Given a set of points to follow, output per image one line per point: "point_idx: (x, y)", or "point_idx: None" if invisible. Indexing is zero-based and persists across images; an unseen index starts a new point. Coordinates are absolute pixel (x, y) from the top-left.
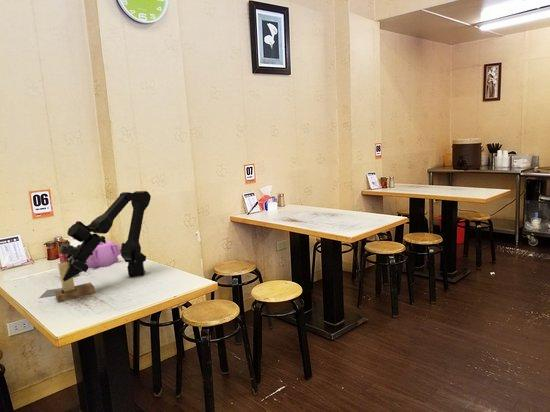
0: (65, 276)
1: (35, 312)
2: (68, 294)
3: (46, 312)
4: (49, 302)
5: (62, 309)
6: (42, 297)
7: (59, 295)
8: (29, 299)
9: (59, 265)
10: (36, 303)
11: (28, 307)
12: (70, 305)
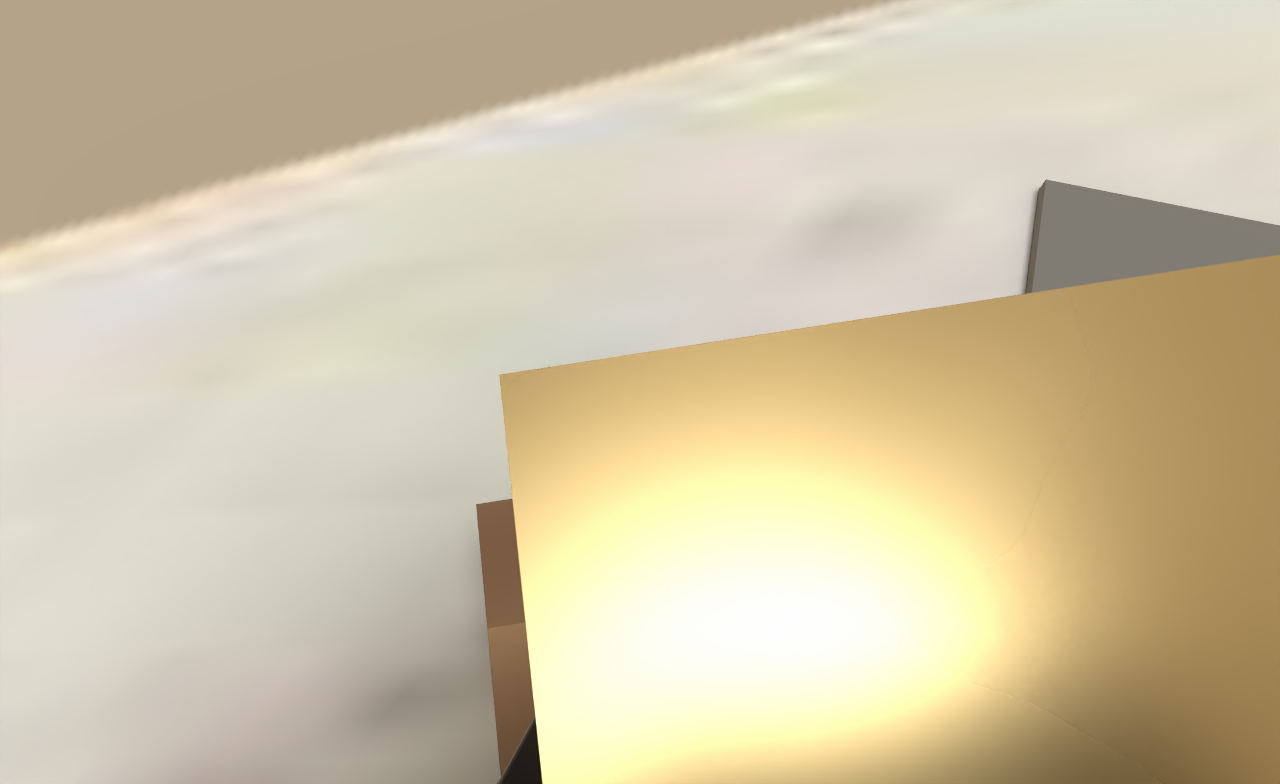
0: (512, 768)
1: (318, 204)
2: (503, 754)
3: (163, 361)
4: None
5: (76, 621)
6: (1052, 237)
7: (493, 545)
8: (1122, 60)
9: (642, 385)
10: (807, 177)
11: (673, 88)
12: (187, 774)
